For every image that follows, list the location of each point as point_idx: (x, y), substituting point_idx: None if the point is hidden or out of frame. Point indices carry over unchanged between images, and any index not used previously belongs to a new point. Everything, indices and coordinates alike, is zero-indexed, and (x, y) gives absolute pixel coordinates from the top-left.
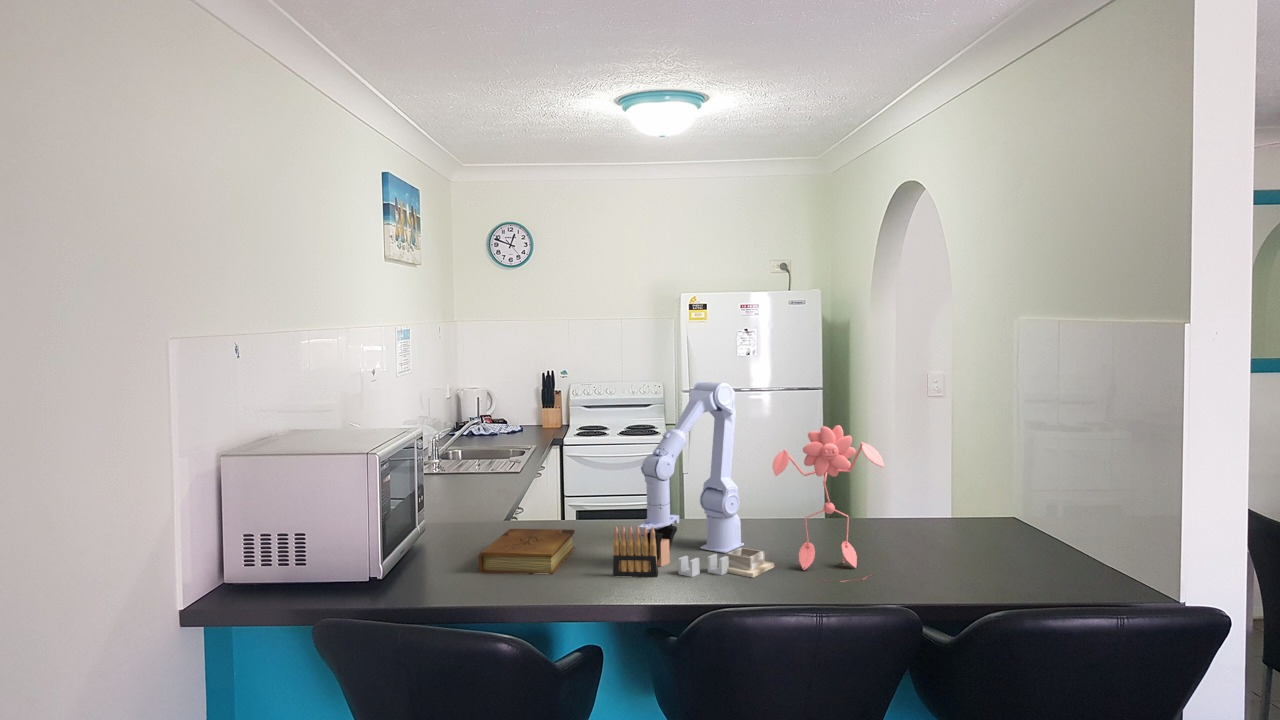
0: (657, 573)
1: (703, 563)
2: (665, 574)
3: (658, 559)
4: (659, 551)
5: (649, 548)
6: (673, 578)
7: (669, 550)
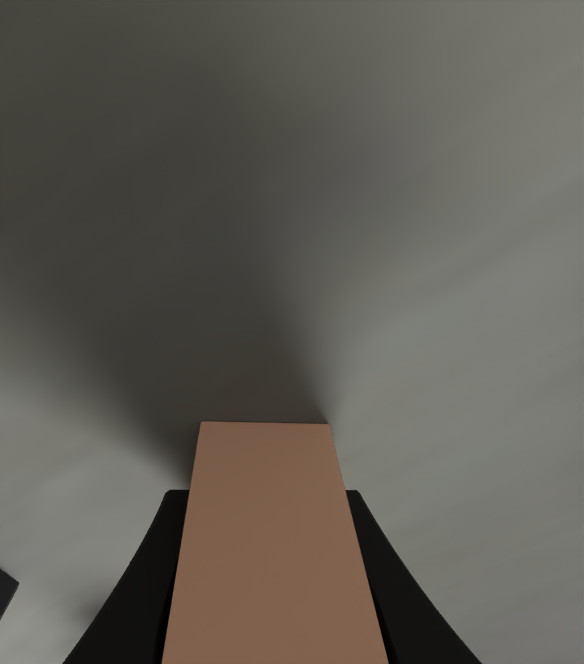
0: (8, 595)
1: None
2: (67, 605)
3: None
4: None
5: (126, 598)
6: (39, 660)
7: None
